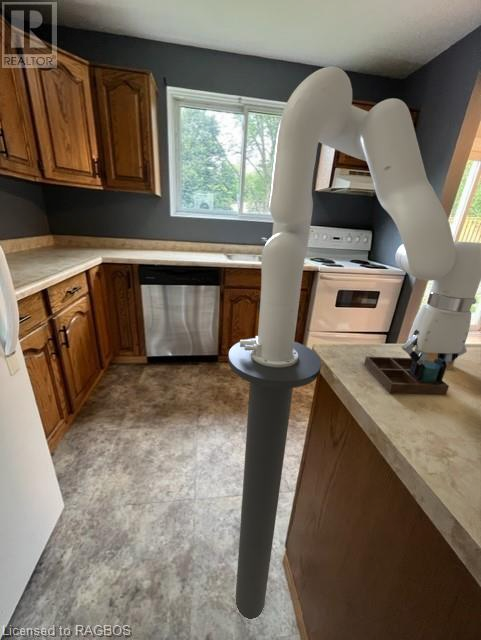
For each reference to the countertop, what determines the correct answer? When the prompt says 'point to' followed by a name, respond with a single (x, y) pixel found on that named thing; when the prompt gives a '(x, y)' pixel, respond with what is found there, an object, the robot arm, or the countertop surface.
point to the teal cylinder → (430, 371)
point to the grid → (401, 377)
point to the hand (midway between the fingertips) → (425, 376)
